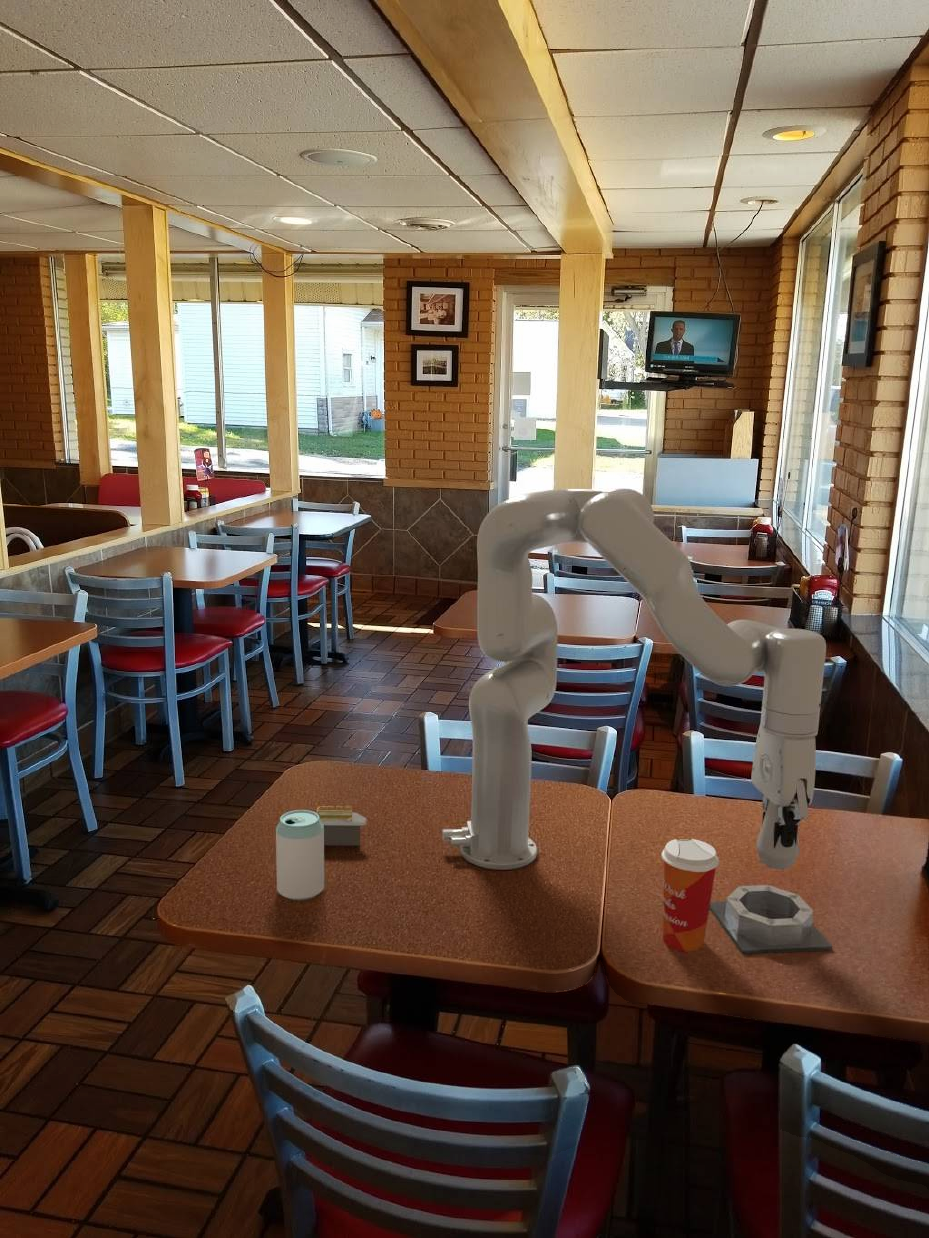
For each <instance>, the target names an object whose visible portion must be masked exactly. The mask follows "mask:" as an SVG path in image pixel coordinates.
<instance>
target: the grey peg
mask: <svg viewBox="0 0 929 1238" xmlns="http://www.w3.org/2000/svg"><path fill="white" fill-rule="evenodd" d="M792 801H794V799H792ZM788 811H793V808H786V813H787V812H788ZM777 822H778V807H777V806H776V805H775V804H773V803H772V802H771V801H770V800H769V803H768V807H767V810H766V814H765V818H764V821H763V824H762V823H761V828H760V831H759V835H758V836H757V837H758V838H757V841H756V851H757V854H758V856H759V860H760V862H761V864H763V865H765V866H766V867H767V868H769V869H775V870H781V871H783V870H787V869H789V868H792V866H793V865H794V863H795V862H796V860H797V859H798V858H799V855H800V847H799V846H800V843H799V834H798V833H799V832H797V841H796V845H795V840H794V843H793V845H792V846H791V847H784V846H783V845H782V844H781V835H780V837H779V839H778V841H777V844H776V846H775V849H774V825H775V823H777Z"/></svg>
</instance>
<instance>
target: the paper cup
mask: <svg viewBox="0 0 929 1238" xmlns="http://www.w3.org/2000/svg"><path fill="white" fill-rule="evenodd" d="M690 839H691V840H690ZM690 839H688V838H686V839H685V838H684V839H681V838H680V839H678V840H677V839H676V838H675V839H672V840H669V841H668V842H667V843H666V844H665V847H664V849H663V850H662V851H661V859H662V860H663V870H662V871H663V879H662V881H663V882H662V883H663V885H662V939H663V943H664V944H665V946H667V947H668V948H670V949H673V950H674V949H675V950H674V951H677V950H678V952H681V953H682V952H683V953H693V952H692V951H694V952H697V951H699V950H701V949H702V948H703V945H704V942H705V938H706V931H707V925H708V919H709V913H710V909H709V907H710V902H712V901H711V899H712V893H713V888H714V881H715V875H716V868H717V867H718V866H719V864H720V860H719V857H718V856H717V851H716V849H715V848H714V847H713V846H712V845H711V844H709V843H708V842H705V841H701V840H699V839H694V838H690ZM701 947H702V948H701ZM700 948H701V949H700ZM698 949H699V950H698ZM696 950H697V951H696ZM690 951H691V952H690Z"/></svg>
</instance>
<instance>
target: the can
mask: <svg viewBox="0 0 929 1238" xmlns="http://www.w3.org/2000/svg"><path fill="white" fill-rule="evenodd" d="M275 848H276V849H275V850H276V852H275V854H276V855H275V858H276V891H277V893H278V894H279V895H281V896H283V897H284V898H287V899H288V900H292V901H305V900H309V899H312V898H315V897H316V896H317V895H320V893H321V892H322V891H323V890H324V889H325V845H324V826H323V824H322V823H321V821H320V820H319V815H318V814H317V812H315V811H312V810H307V809H296V810H291V811H288V812H285V813H283V814H282V815H281V816H280V817H279V823H278V824H277V826H276V827H275Z"/></svg>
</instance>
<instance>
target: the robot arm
mask: <svg viewBox="0 0 929 1238" xmlns="http://www.w3.org/2000/svg"><path fill="white" fill-rule="evenodd" d="M654 521H655V514H654V509H653V507H652V504H651V502H650V500H649V499H648V498H647V497H646V496H645V495H644V494H642V493H641V492H639V491H637V490H636V489H630V488H604V489H602V488H601V489H600V488H599V489H598V488H596V489H595V488H583V489H582V488H559V489H558V488H556V489H555V488H554V489H547V490H544V491H543V490H542V491H534V492H528V493H523V494H520V495H517V496H514V497H510V498H509V499H506V500H504V501H503V502H500V503H499V504H497V505H496V506H495V507H493V508H492V509H491V510H490V511H489V512H488V513H487V514H486V516H485V517H484V518H483V521H482V522H481V524H480V526H479V530H478V533H477V538H476V540H477V541H476V551H477V552H476V553H477V554H476V555H477V558H476V559H477V615H476V616H477V617H476V618H477V620H476V621H477V626H476V627H477V630H476V631H477V635H476V636H477V641H478V646H479V649H480V650H481V652H482V653H483V655H484V656H485V657H486V658H488V659H490V660H491V661H494V662H498V663H499V662H502V663H504V664H502V665H500V666H497V667H496V668H494V669H491V670H490V671H488V672H486V673H485V674H483V675H482V676H481V677H480V678H479V679H478V680H477V681H476V682H475V684H474V685H473V687H472V688H471V692H470V693H469V699H468V709H469V710H468V711H469V718H470V724H471V733H472V772H471V773H472V775H471V777H472V778H471V779H472V780H471V806H470V807H471V810H470V820H467V821H466V826H461V828H458V829H457V828H456V829H454V828H443V829H442V831H441V837H442V838H441V839H442V841H443V842H450V845H451V847H460V853H461V856H462V857H463V858H464V860H466V861H467V862H469V863H471V864H472V865H475V866H476V867H477V866H478V867H481V868H484V869H489V870H499V871H500V870H501V871H503V870H507V871H508V870H514V869H519V868H523V867H525V866H528V865H529V864H531V863H532V862H533V861H534V860H536V858H537V854H538V846H537V845H536V843H535V842H534V841H533V840H532V839H531V838H530V837H529V824H530V823H529V822H530V804H531V803H530V802H531V799H530V798H531V780H532V776H531V775H532V742H531V736H530V734H529V733H530V732H529V729H528V721H529V719H530V718H531V717H532V716H534V715H536V714H537V713H539V712H541V710H543V709H544V708H546V707H547V706H548V705H549V704H550V703H551V701H552V699H553V698H554V696H555V693H556V688H557V678H558V677H557V675H558V623H557V622H558V621H557V618H556V614H555V612H554V609H553V608H552V607H553V606H552V605H551V604H550V603H549V602H548V600H547V599H545V598H544V597H542V596H541V595H540V594H537V593H533V572H532V570H533V569H532V567H531V562H530V560H529V554H530V553H531V552H533V551H536V550H538V549H539V550H540V549H543V548H547V547H552V546H555V545H558V544H564V543H586V544H587V543H588V545H589V546H591V548H592V549H594V551H596V553H598V555H600V556H601V558H603V559H604V561H606V562H607V563H608V565H610V566H611V567H612V569H614V570H615V571H616V572H617V573H618V574H619V576H621V577H622V578H623V579H624V581H626V582H627V583H628V584H629V586H630V587H631V588H633V589H634V591H635V592H637V594H639V595H640V596H641V598H642V599H643V600H644V601H645V603H646V605H647V607H648V609H649V611H650V612H649V613H651V615H652V617H653V619H654V620H655V622H656V624H657V625H658V627H659V629H660V630H661V632H662V633H663V635H664V636H665V638H666V639H667V640H668V642H669V643H670V645H672V646H673V648H674V649H675V650H676V651H677V652H678V653H679V654H680V655H681V656H682V657H683V658H684V659H685V660H686V661H687V662H688V663H689V664H690V665H691V666H692V667H693V668H694V669H695V670H696V671H697V672H698V673H699V674H701V675H702V676H703V677H704V678H706V680H708V681H711V682H712V683H714V684H716V685H719V686H723V687H734V686H735V687H736V686H739V685H741V684H743V683H745V682H747V681H748V680H749V679H750V678H751V677H752V676H753V675H754V674H758V673H763V675H764V679H763V691H762V703H761V705H762V706H761V713H760V714H761V715H760V724H759V728H758V732H757V736H756V739H755V741H756V742H755V746H754V753H753V758H752V759H753V760H752V769H751V783H752V785H753V786H754V787H755V788H756V789H757V790H758V791H759V792H760V793H761V794H762V803H761V805H762V806H761V807H762V810H763V811H762V820H761V821H762V822H761V825H762V824H763V821H764V818H765V814H766V810H767V807H768V803H769V800H770V801H771V802H772V803H773V804H775V805H776V806H777V807H778V822H777V823H775V825H774V849H775V846H776V844H777V841H778V839H779V837H780V835H781V844H782V845H783V846H784V847H791V846H792V845H793V843H794V840H795V845H796V841H797V833H798V829H799V825H800V824H801V820H806V819H808V818H809V809H808V807H810V805H811V804H812V801H813V797H814V791H815V783H816V782H815V780H816V760H817V759H816V757H817V756H816V749H817V748H816V737H817V735H818V732H819V725H820V724H819V723H820V716H821V715H820V713H821V703H822V702H821V701H822V693H823V692H822V691H823V683H824V674H825V673H824V672H825V665H826V664H825V663H826V662H825V661H826V654H827V653H826V652H827V643H826V639H825V638H824V637H823V635H822V634H820V633H818V632H816V631H813V630H808V629H802V628H781V627H779V626H778V627H777V626H773V625H769V624H766V623H763V622H762V623H761V622H759V621H754V620H750V619H737V620H732V621H731V622H729V623H726V622H724V620H723V619H722V618H721V617H720V616H719V615H717V613H716V612H714V610H713V609H712V608H711V607H710V606H709V605H708V603H707V602H706V601H705V600H704V598H703V597H702V595H701V594H700V592H699V591H698V588H697V586H696V584H695V580H694V575H693V568H692V564H691V561H690V559H689V557H688V556H687V554H686V553H684V552H683V551H682V550H681V549H680V548H679V547H678V546H677V545H676V544H675V543H674V541H672V540H671V539H670V538H669V537H667V535H666V534H664V533H663V532H662V531H661V530H660V528H658V526H656V525H655V524H654ZM792 799H794V801H792ZM786 808H793V811H788V812H787V813H786Z"/></svg>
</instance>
